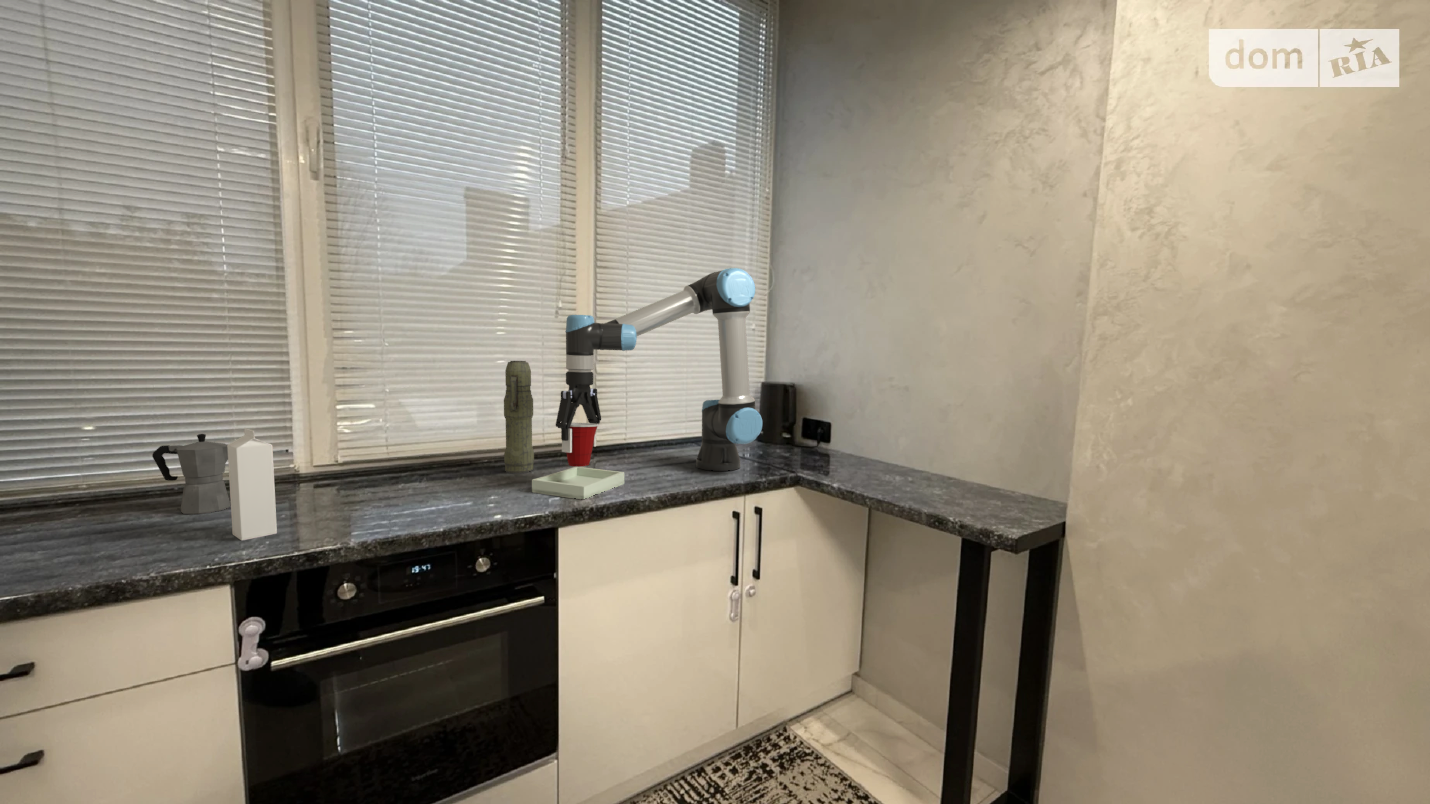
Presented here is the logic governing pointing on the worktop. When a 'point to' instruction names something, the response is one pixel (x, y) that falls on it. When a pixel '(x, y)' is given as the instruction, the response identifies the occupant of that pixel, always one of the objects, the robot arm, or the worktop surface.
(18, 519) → the worktop surface
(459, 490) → the worktop surface
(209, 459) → the coffeepot
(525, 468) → the thermos
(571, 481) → the tray
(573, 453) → the plastic cup
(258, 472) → the milk
